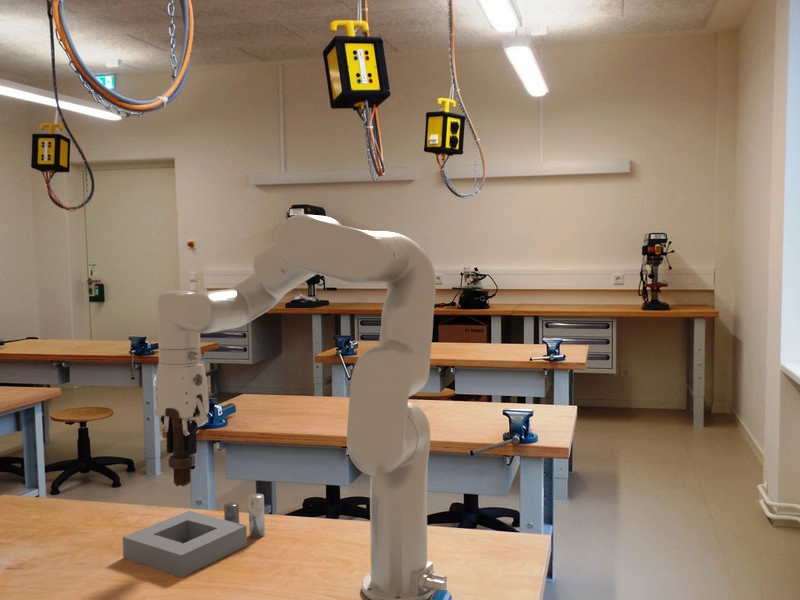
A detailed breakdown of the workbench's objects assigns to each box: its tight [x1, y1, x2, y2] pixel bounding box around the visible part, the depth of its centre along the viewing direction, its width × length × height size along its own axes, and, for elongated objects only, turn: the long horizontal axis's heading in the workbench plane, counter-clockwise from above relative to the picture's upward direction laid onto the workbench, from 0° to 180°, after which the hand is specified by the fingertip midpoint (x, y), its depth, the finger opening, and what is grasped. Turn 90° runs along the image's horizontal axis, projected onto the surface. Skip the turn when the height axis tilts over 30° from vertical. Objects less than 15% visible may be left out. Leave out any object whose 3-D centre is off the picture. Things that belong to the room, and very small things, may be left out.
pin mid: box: [248, 493, 266, 539], centre depth 146 cm, size 3×3×8 cm
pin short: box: [223, 501, 240, 524], centre depth 150 cm, size 3×3×5 cm
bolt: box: [165, 408, 196, 487], centre depth 137 cm, size 6×5×15 cm
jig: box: [122, 510, 248, 578], centre depth 138 cm, size 16×16×4 cm
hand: (181, 452), depth 137 cm, fingers closed on bolt, 3 cm apart
